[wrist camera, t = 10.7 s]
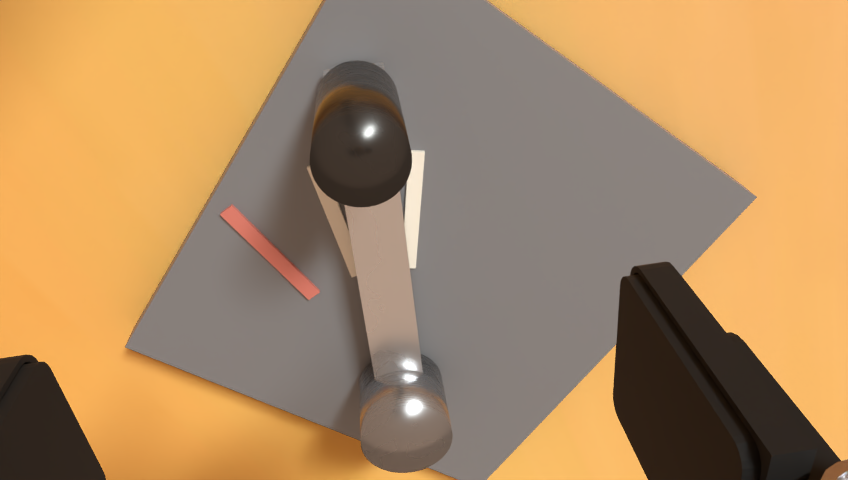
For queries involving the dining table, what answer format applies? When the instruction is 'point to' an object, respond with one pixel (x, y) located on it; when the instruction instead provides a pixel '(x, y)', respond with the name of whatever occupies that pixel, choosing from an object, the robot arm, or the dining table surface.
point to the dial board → (438, 229)
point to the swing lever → (380, 262)
